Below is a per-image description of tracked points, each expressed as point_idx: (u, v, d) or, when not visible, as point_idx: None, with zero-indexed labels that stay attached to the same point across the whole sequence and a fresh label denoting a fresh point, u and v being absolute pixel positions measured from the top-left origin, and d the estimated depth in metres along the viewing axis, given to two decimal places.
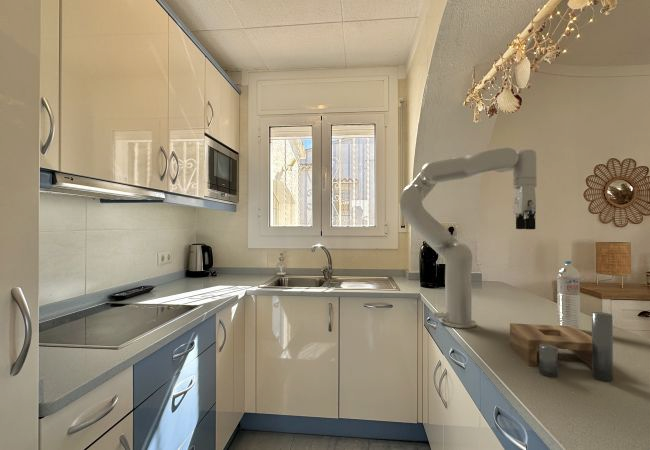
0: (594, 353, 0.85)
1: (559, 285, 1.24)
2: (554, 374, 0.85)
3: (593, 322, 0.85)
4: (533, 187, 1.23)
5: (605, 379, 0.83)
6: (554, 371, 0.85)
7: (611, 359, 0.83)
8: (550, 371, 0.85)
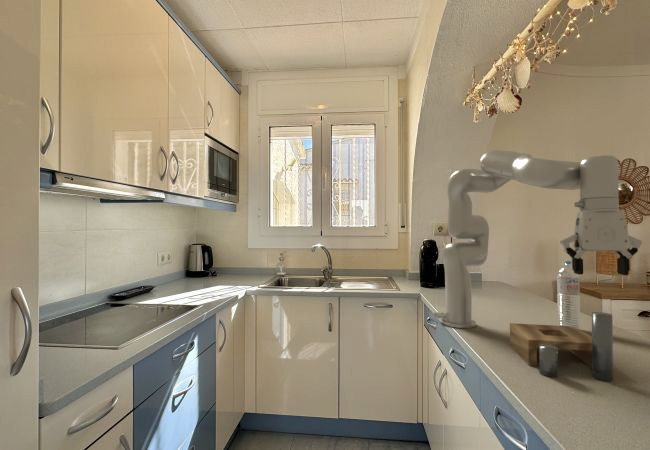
0: (594, 353, 0.85)
1: (559, 285, 1.24)
2: (554, 374, 0.85)
3: (593, 322, 0.85)
4: None
5: (605, 379, 0.83)
6: (554, 371, 0.85)
7: (611, 359, 0.83)
8: (550, 371, 0.85)
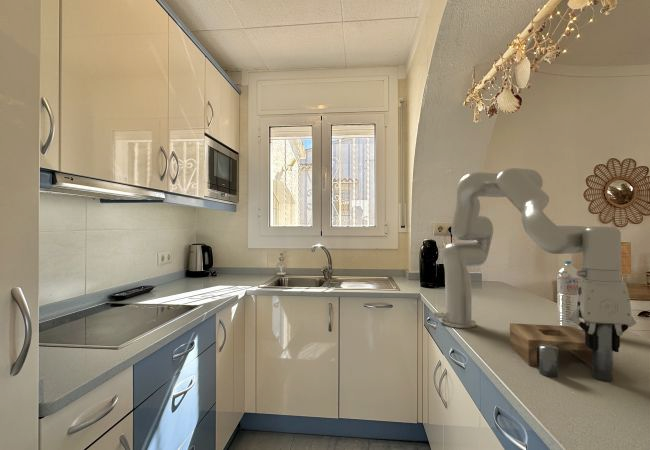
0: (594, 353, 0.85)
1: (559, 285, 1.24)
2: (554, 374, 0.85)
3: None
4: None
5: (605, 379, 0.83)
6: (554, 371, 0.85)
7: (611, 359, 0.83)
8: (550, 371, 0.85)
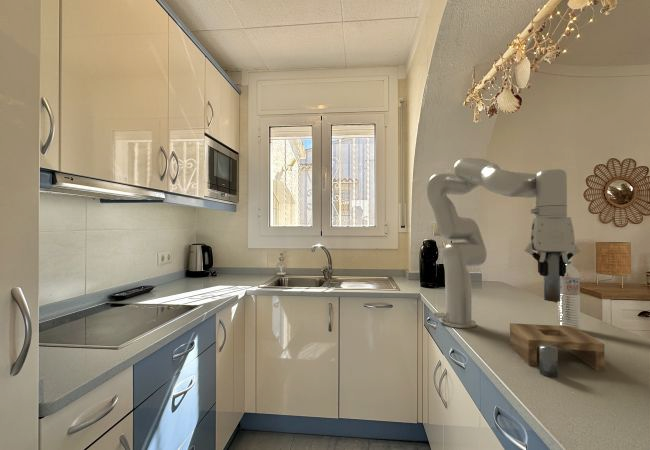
0: (545, 278, 0.99)
1: None
2: (554, 374, 0.85)
3: None
4: None
5: (553, 299, 0.97)
6: (554, 371, 0.85)
7: (558, 282, 0.97)
8: (550, 371, 0.85)
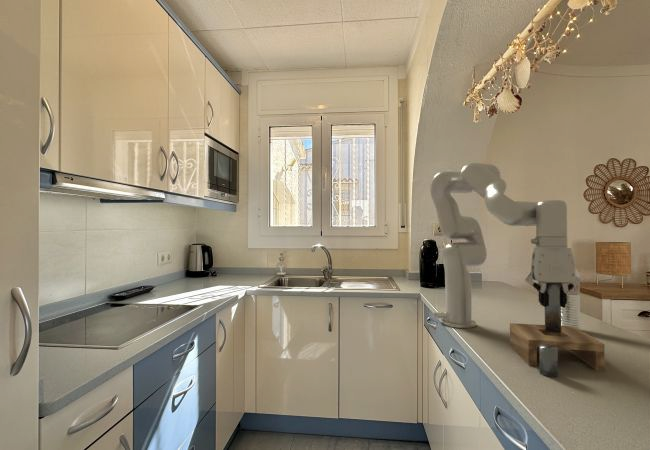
0: (546, 309, 0.98)
1: None
2: (554, 374, 0.85)
3: None
4: None
5: (554, 330, 0.97)
6: (554, 371, 0.85)
7: (559, 313, 0.97)
8: (550, 371, 0.85)
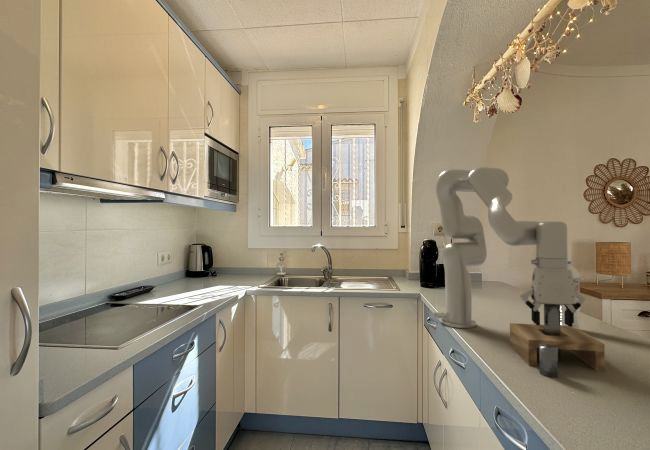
0: None
1: None
2: (554, 374, 0.85)
3: (544, 308, 0.99)
4: None
5: None
6: (554, 371, 0.85)
7: None
8: (550, 371, 0.85)
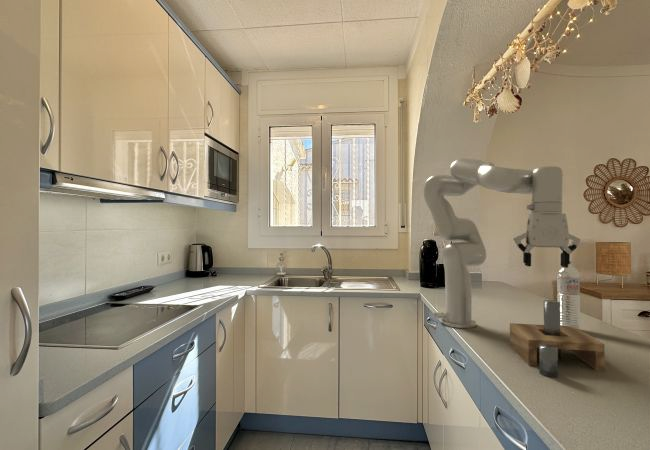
0: None
1: (559, 285, 1.24)
2: (554, 374, 0.85)
3: (544, 308, 0.99)
4: None
5: None
6: (554, 371, 0.85)
7: None
8: (550, 371, 0.85)
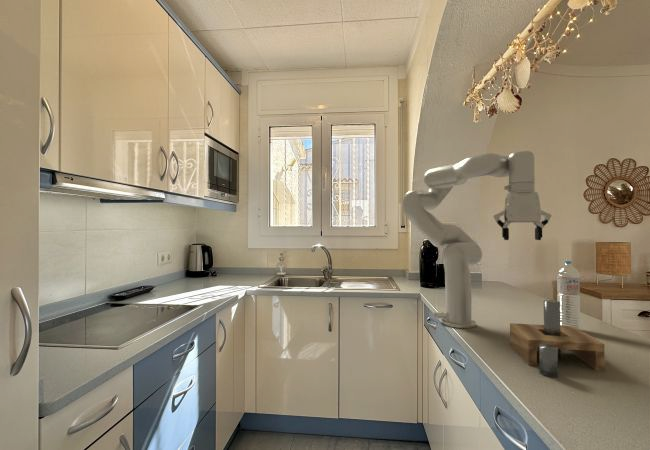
0: None
1: (559, 285, 1.24)
2: (554, 374, 0.85)
3: (544, 308, 0.99)
4: None
5: None
6: (554, 371, 0.85)
7: None
8: (550, 371, 0.85)
